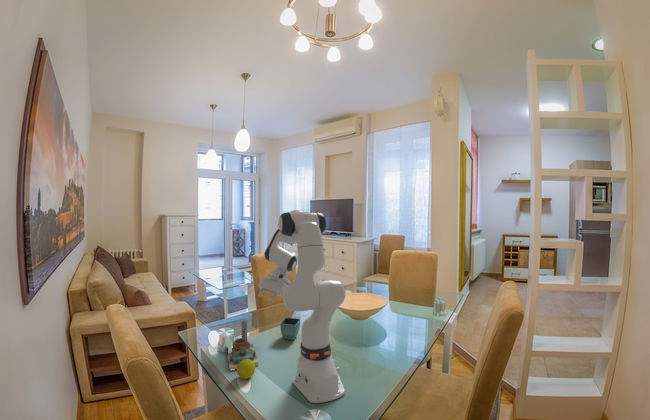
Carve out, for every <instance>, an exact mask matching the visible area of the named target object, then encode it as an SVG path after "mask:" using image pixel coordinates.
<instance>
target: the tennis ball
mask: <svg viewBox="0 0 650 420" xmlns="http://www.w3.org/2000/svg"><path fill="white" fill-rule="evenodd" d="M255 371H256V366H255V364H254V362H253V361H252V360H250V359H245V360H242V361H241V362H240V363H239V364H238V367H237V370H236V372H237V375H238V377H239V378H240V379H243V380H246V379H247V380H248V379H250V378H251V377H253V375H254V374H255Z"/></svg>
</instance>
